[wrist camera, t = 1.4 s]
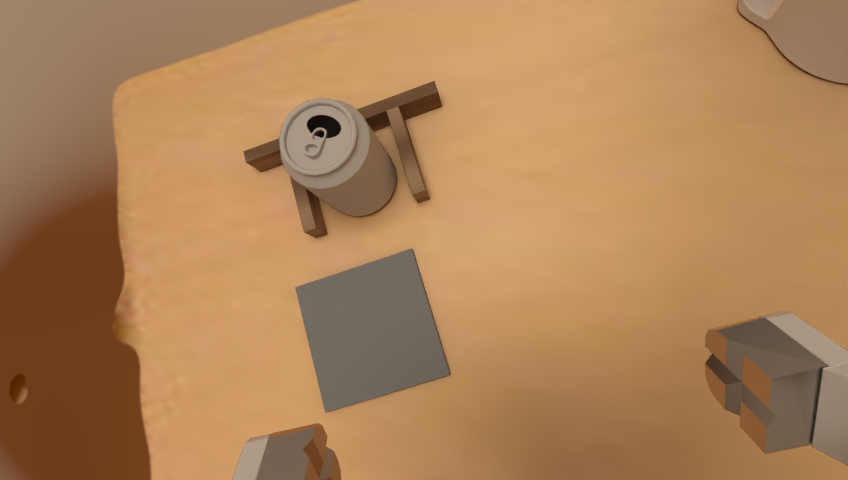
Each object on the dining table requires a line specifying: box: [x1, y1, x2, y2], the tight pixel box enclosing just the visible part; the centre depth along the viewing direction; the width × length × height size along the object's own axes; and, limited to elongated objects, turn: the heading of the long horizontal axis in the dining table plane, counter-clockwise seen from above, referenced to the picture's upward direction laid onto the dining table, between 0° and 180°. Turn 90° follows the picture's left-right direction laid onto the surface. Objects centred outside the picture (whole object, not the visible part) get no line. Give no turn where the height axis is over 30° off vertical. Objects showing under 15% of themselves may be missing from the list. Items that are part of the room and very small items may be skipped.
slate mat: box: [296, 249, 450, 412], centre depth 44 cm, size 12×12×1 cm
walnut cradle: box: [244, 81, 442, 238], centre depth 46 cm, size 10×20×3 cm, turn 107°
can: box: [279, 98, 396, 217], centre depth 42 cm, size 8×8×12 cm
